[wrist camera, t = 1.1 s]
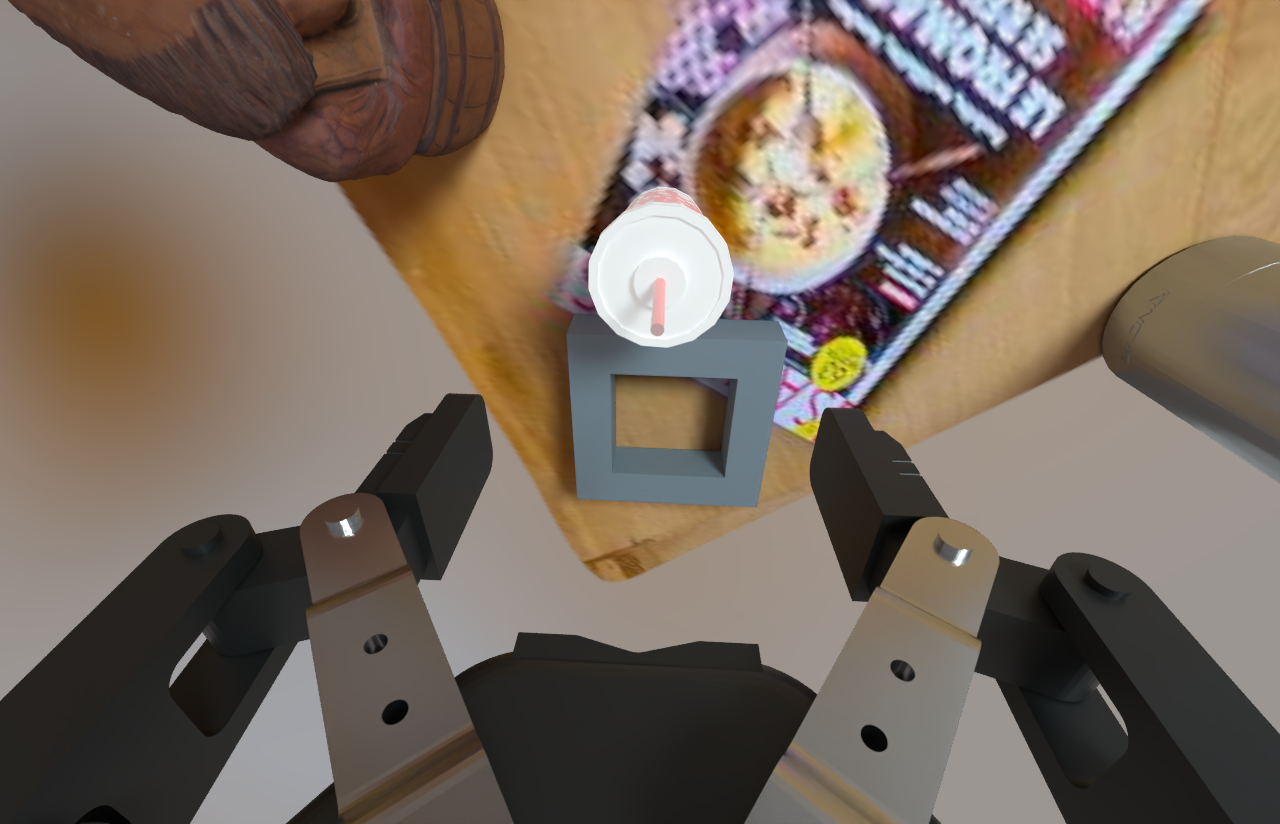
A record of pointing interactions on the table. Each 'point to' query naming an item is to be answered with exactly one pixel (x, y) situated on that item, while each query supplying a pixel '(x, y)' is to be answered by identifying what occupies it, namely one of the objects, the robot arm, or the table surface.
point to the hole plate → (674, 474)
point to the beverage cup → (660, 271)
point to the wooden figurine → (302, 71)
